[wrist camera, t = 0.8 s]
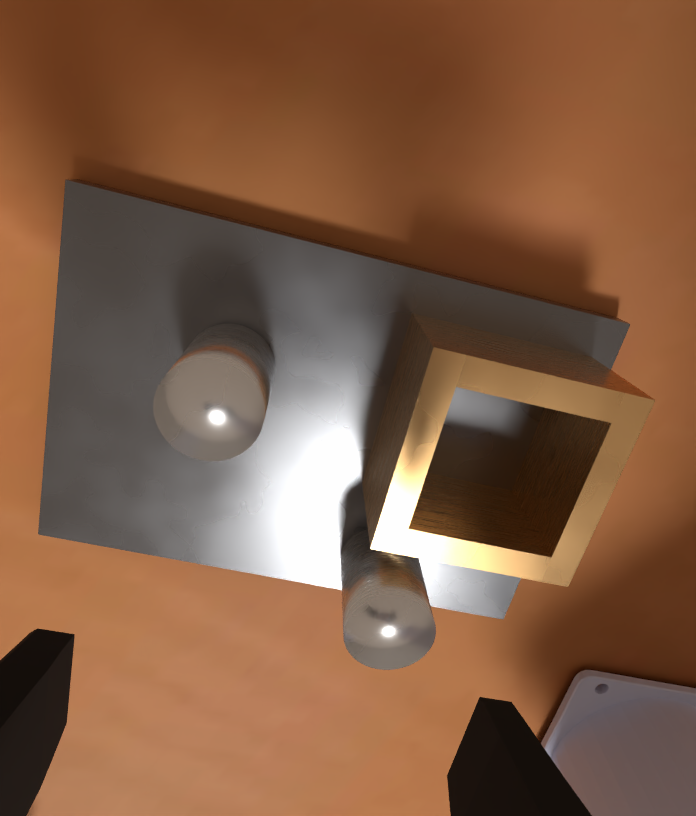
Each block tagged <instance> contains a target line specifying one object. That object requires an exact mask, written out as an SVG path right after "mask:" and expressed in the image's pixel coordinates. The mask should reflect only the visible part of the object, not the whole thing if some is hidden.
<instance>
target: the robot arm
mask: <svg viewBox="0 0 696 816" xmlns="http://www.w3.org/2000/svg"><path fill="white" fill-rule="evenodd" d="M74 635H75V634H69V633H63V632H56V631H50V630H43V629H36V630H34V631H32V632H31V633H29V634H28V635H27V636H26V637H25V638H24V639H23V640H22V641H21V642H20V643H19V644H18V645H17V646H15V647H14V648H13V649H12V650H11V651H10V652H9V653H8V654H7V655H6V656H5V657H3V658H2V659H1V660H0V816H26V815H27V813H28V811H29V809H30V807H31V805H32V803H33V801H34V800H35V798H36V796H37V794H38V792H39V790H40V788H41V785H42V783H43V780H44V778H45V775H46V773H47V771H48V768H49V766H50V763H51V761H52V759H53V756H54V753H55V751H56V748H57V746H58V743H59V741H60V738H61V736H62V733H63V731H64V728H65V726H66V723H67V713H68V702H69V691H70V680H71V668H72V657H73V646H74ZM600 684H601V685H600ZM598 685H599V686H598ZM447 778H448V790H449V801H450V812H451V816H696V688H691V687H685V686H680V685H674V684H668V683H662V682H657V681H651V680H645V679H640V678H634V677H628V676H622V675H617V674H611V673H605V672H600V671H594V670H584V671H581V672H579V673H578V674H577V675H576V676H575V677H574V679H573V681H572V683H571V685H570V687H569V689H568V691H567V693H566V695H565V697H564V699H563V701H562V703H561V705H560V707H559V709H558V711H557V713H556V715H555V717H554V719H553V721H552V722H551V724H550V726H549V728H548V730H547V732H546V734H545V736H544V738H543V740H542V742H541V743H540V742H539V740H538V739H537V738H536V736H535V735H534V733H533V732H532V730H531V729H530V727H529V726H528V725H527V723H526V722H525V720H524V719H523V717H522V716H521V715H520V713H519V712H518V710H517V709H516V708H515V706H514V705H513V704H512V702H508V701H502V700H495V699H489V698H482V697H480V698H479V700H478V703H477V705H476V707H475V710H474V712H473V715H472V717H471V719H470V722H469V724H468V727H467V729H466V731H465V734H464V736H463V739H462V741H461V744H460V746H459V748H458V751H457V753H456V756H455V758H454V760H453V763H452V765H451V768H450V770H449V772H448V775H447Z"/></svg>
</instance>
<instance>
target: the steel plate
mask: <svg viewBox="0 0 696 816" xmlns="http://www.w3.org/2000/svg"><path fill="white" fill-rule="evenodd" d="M412 313H414V314H418V315H423V316H427V317H431V318H435V319H439V320H443V321H447V322H451V323H455V324H459V325H463V326H467V327H471V328H475V329H479V330H483V331H487V332H492V333H496V334H500V335H504V336H508V337H512V338H516V339H520V340H524V341H528V342H532V343H536V344H540V345H544V346H548V347H552V348H556V349H561V350H565V351H569V352H573V353H577V354H581V355H585V356H589V357H593V358H594V359H596V360H597V361H598V362H600V363H601V364H603V365H604V366H606V367H607V368H609V369H610V370H611V368H612V366H613V363H614V361H615V359H616V356H617V354H618V352H619V350H620V347H621V345H622V343H623V340H624V338H625V336H626V333H627V331H628V329H629V326H630V324H629V323H627V322H625V321H623V320H621V319H619V318H616V317H612V316H608V315H604V314H600V313H596V312H592V311H588V310H584V309H581V308H577V307H573V306H569V305H565V304H561V303H557V302H553V301H549V300H546V299H542V298H538V297H534V296H530V295H526V294H522V293H518V292H514V291H510V290H507V289H503V288H499V287H495V286H491V285H487V284H483V283H479V282H475V281H472V280H468V279H464V278H460V277H456V276H452V275H448V274H444V273H440V272H436V271H433V270H429V269H425V268H421V267H417V266H413V265H409V264H405V263H401V262H398V261H394V260H390V259H386V258H382V257H378V256H374V255H370V254H366V253H362V252H359V251H355V250H351V249H347V248H343V247H339V246H335V245H331V244H327V243H324V242H320V241H316V240H312V239H308V238H304V237H300V236H296V235H292V234H288V233H285V232H281V231H277V230H273V229H269V228H265V227H261V226H257V225H253V224H250V223H246V222H242V221H238V220H234V219H230V218H226V217H222V216H218V215H214V214H211V213H207V212H203V211H199V210H195V209H191V208H187V207H183V206H179V205H176V204H172V203H168V202H164V201H160V200H156V199H152V198H148V197H144V196H140V195H137V194H133V193H129V192H125V191H121V190H117V189H113V188H109V187H105V186H102V185H98V184H94V183H90V182H86V181H82V180H78V179H70V180H66V181H65V194H64V207H63V220H62V233H61V246H60V259H59V272H58V284H57V297H56V310H55V323H54V336H53V349H52V362H51V375H50V388H49V401H48V414H47V427H46V440H45V453H44V466H43V479H42V492H41V505H40V518H39V531H38V534H39V535H44V536H50V537H55V538H61V539H66V540H72V541H77V542H83V543H88V544H94V545H99V546H105V547H110V548H115V549H121V550H126V551H132V552H137V553H143V554H148V555H154V556H159V557H165V558H170V559H176V560H181V561H187V562H192V563H197V564H203V565H208V566H214V567H219V568H225V569H230V570H236V571H241V572H247V573H252V574H258V575H263V576H269V577H274V578H279V579H285V580H290V581H296V582H301V583H307V584H312V585H318V586H323V587H329V588H334V589H340V590H342V586H341V562H340V559H341V552H342V550H343V547H344V545H345V544H346V542H347V541H348V540H349V539H350V538H351V537H352V536H353V535H354V534H356V533H357V532H359V531H361V530H363V529H366V528H368V526H367V518H366V510H365V502H364V494H363V485H362V481H363V478H364V474H365V471H366V467H367V464H368V461H369V457H370V454H371V450H372V447H373V444H374V440H375V437H376V433H377V430H378V427H379V423H380V420H381V416H382V413H383V410H384V406H385V403H386V399H387V396H388V393H389V389H390V386H391V382H392V379H393V376H394V372H395V369H396V366H397V362H398V359H399V355H400V352H401V349H402V345H403V342H404V338H405V335H406V332H407V328H408V325H409V321H410V318H411V315H412ZM226 323H228V324H238V325H241V326H245V327H247V328H249V329H251V330H253V331H255V332H256V333H257V334H259V335H260V336H261V337H262V338H263V339H264V340H265V341H266V343H267V344H268V345H269V347H270V349H271V351H272V353H273V356H274V359H275V366H276V371H275V378H274V382H273V386H272V390H271V394H270V398H269V402H268V406H267V411H266V415H265V419H264V423H263V426H262V430H261V432H260V434H259V436H258V438H257V439H256V441H255V442H254V443H253V444H252V446H251V447H249V448H248V449H247V450H246V451H244V452H243V453H241V454H240V455H238V456H236V457H233V458H230V459H227V460H222V461H203V460H198V459H195V458H192V457H189V456H187V455H185V454H183V453H181V452H179V451H178V450H176V449H175V448H174V447H173V446H171V445H170V444H169V443H168V442H167V440H166V439H165V438H164V437H163V435H162V434H161V432H160V430H159V429H158V427H157V424H156V421H155V417H154V411H153V402H154V396H155V392H156V390H157V387H158V385H159V384H160V382H161V380H162V379H163V378H164V377H165V375H166V374H167V373H168V372H169V370H170V369H171V368H172V367H173V365H174V364H175V363H176V361H177V360H178V359H179V358H180V356H181V355H182V354H183V353H184V351H185V350H186V349H187V348H188V346H189V345H190V344H191V343H192V341H193V340H194V339H195V337H196V336H198V335H199V334H200V333H201V332H202V331H204V330H205V329H207V328H209V327H212V326H214V325H218V324H226ZM544 409H545V407H540V406H536V405H532V404H527V403H523V402H519V401H514V400H510V399H506V398H502V397H497V396H493V395H489V394H484V393H480V392H476V391H471V390H467V389H463V388H458V387H456V388H455V391H454V394H453V397H452V400H451V403H450V406H449V409H448V412H447V415H446V418H445V421H444V424H443V427H442V430H441V433H440V436H439V439H438V442H437V445H436V448H435V451H434V454H433V457H432V460H431V463H430V466H429V469H428V472H427V473H431V474H436V475H441V476H445V477H450V478H455V479H460V480H464V481H469V482H474V483H478V484H483V485H488V486H493V487H497V488H502V489H507V490H511V491H512V489H513V486H514V484H515V481H516V479H517V476H518V474H519V471H520V469H521V466H522V464H523V461H524V459H525V456H526V454H527V451H528V449H529V446H530V444H531V441H532V439H533V436H534V434H535V431H536V429H537V426H538V424H539V421H540V419H541V416H542V414H543V411H544ZM419 562H420V566H421V570H422V574H423V578H424V582H425V586H426V590H427V594H428V598H429V602H430V606H433V607H438V608H443V609H449V610H454V611H460V612H465V613H471V614H476V615H482V616H487V617H493V618H498V619H504V616H505V614H506V612H507V609H508V607H509V605H510V603H511V600H512V598H513V596H514V593H515V591H516V589H517V586H518V584H519V582H520V579H521V578H519V577H514V576H509V575H504V574H498V573H493V572H488V571H483V570H478V569H472V568H467V567H462V566H457V565H452V564H447V563H441V562H436V561H431V560H426V559H421V558H419Z"/></svg>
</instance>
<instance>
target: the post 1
mask: <svg viewBox="0 0 696 816" xmlns="http://www.w3.org/2000/svg"><path fill="white" fill-rule="evenodd" d="M275 371H276V366H275V359H274V356H273V353H272V351H271V349H270V347H269V345H268V344H267V343H266V341H265V340H264V339H263V338H262V337H261V336H260V335H259V334H257V333H256V332H255V331H253V330H251V329H249V328H247V327H245V326H241V325H238V324H228V323H226V324H218V325H214V326H212V327H209V328H207V329H205V330H204V331H202V332H201V333H200V334H199V335H198V336H196V337H195V339H194V340H193V341H192V343H191V344H190V345H189V346H188V348H187V349H186V350H185V351H184V353H183V354H182V355H181V356H180V358H179V359H178V360H177V361H176V363H175V364H174V365H173V367H172V368H171V369H170V370H169V372H168V373H167V374H166V375H165V377H164V378H163V379H162V380H161V382H160V384H159V385H158V387H157V390H156V392H155V396H154V402H153V411H154V417H155V421H156V424H157V427H158V429H159V430H160V432H161V434H162V435H163V437H164V438H165V439H166V440H167V442H168V443H169V444H170V445H171V446H173V447H174V448H175V449H176V450H178V451H179V452H181V453H183V454H185V455H187V456H189V457H192V458H195V459H198V460H203V461H222V460H227V459H230V458H233V457H236V456H238V455H240V454H241V453H243V452H244V451H246V450H247V449H248V448H249V447H251V446H252V444H253V443H254V442H255V441H256V439H257V438H258V436H259V434H260V432H261V430H262V426H263V423H264V419H265V415H266V411H267V406H268V402H269V398H270V394H271V390H272V386H273V382H274V378H275Z"/></svg>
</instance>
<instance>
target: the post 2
mask: <svg viewBox="0 0 696 816" xmlns="http://www.w3.org/2000/svg"><path fill="white" fill-rule="evenodd" d="M340 562H341V586H342V610H343V634H344V642H345V646H346V648H347V650H348V651H349V653H350V654H351V655H352V656H353V658H355V659H356V660H357V661H359V662H360V663H362V664H364V665H366V666H368V667H371V668H375V669H382V670H392V669H399V668H403V667H406V666H409V665H411V664H413V663H415V662H417V661H418V660H420V659H421V658H422V657H423V656H424V655H425V654H426V653H427V652H428V651H429V650H430V648H431V647H432V644H433V642H434V639H435V634H436V627H435V622H434V618H433V614H432V610H431V606H430V602H429V598H428V594H427V590H426V586H425V582H424V578H423V574H422V570H421V566H420V562H419V558H415V557H410V556H405V555H400V554H395V553H390V552H384V551H379V550H374V549H370V542H369V534H368V528H366V529H363V530H361V531H359V532H357V533H356V534H354V535H353V536H352V537H351V538H350V539H349V540H348V541H347V542H346V544H345V545H344V547H343V550H342V552H341V559H340Z"/></svg>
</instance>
